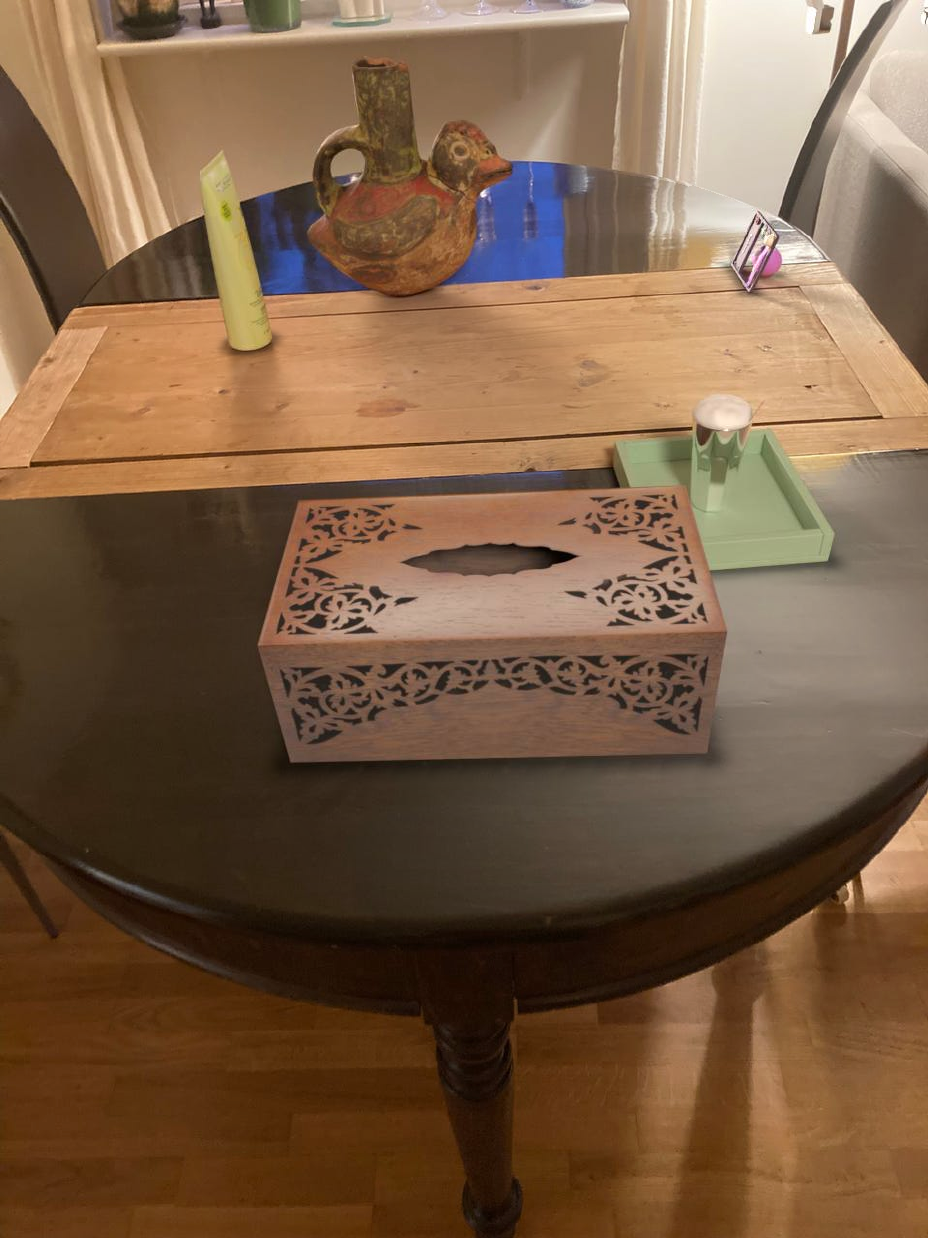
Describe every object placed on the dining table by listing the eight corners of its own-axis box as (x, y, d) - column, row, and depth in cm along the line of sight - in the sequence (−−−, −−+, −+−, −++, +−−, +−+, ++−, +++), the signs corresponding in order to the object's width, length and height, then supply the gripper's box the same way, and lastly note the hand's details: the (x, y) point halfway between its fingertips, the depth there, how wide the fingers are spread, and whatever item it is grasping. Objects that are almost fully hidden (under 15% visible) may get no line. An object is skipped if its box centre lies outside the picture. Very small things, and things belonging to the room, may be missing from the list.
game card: (750, 208, 110) (771, 233, 103) (789, 220, 111) (812, 246, 104) (725, 262, 114) (743, 291, 107) (762, 274, 115) (783, 302, 108)
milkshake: (729, 527, 72) (747, 413, 66) (671, 504, 75) (683, 392, 69) (759, 502, 75) (779, 389, 68) (701, 480, 78) (716, 370, 71)
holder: (766, 454, 81) (771, 428, 80) (828, 561, 70) (835, 533, 68) (613, 466, 81) (614, 440, 80) (648, 575, 70) (650, 548, 68)
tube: (282, 344, 105) (246, 159, 92) (242, 358, 103) (198, 170, 90) (261, 329, 109) (223, 149, 96) (221, 341, 107) (177, 159, 94)
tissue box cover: (290, 762, 58) (257, 645, 51) (322, 612, 69) (298, 500, 62) (706, 753, 56) (727, 631, 50) (672, 601, 67) (685, 485, 61)
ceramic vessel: (507, 316, 107) (499, 70, 91) (295, 313, 111) (250, 78, 95) (525, 261, 120) (521, 37, 103) (334, 261, 124) (301, 46, 108)
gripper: (1044, -212, 68) (985, 11, 77) (766, -190, 68) (740, 31, 77) (1092, -214, 63) (1024, 24, 72) (793, -191, 63) (762, 44, 72)
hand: (875, 28), depth 74 cm, fingers open, 8 cm apart
